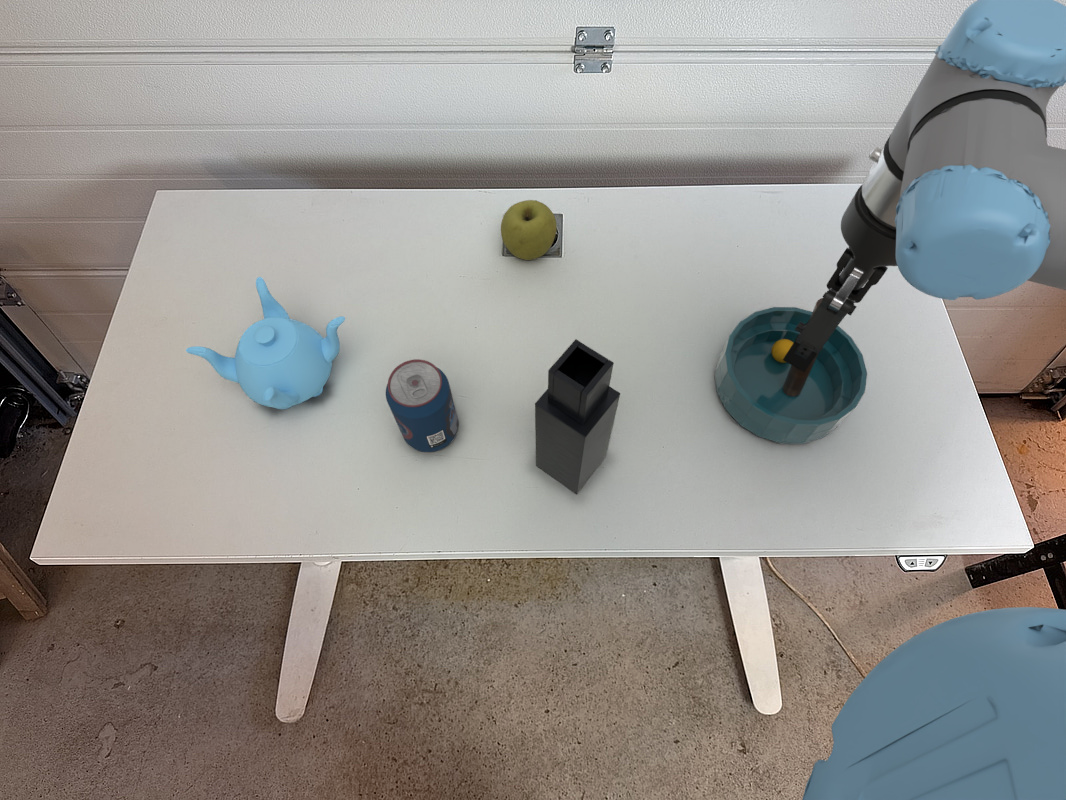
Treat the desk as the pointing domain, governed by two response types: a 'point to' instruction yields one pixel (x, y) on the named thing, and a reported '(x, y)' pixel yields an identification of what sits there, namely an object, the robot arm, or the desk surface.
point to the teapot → (278, 356)
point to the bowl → (758, 379)
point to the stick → (798, 373)
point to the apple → (528, 229)
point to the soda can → (422, 405)
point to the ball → (781, 349)
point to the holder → (575, 416)
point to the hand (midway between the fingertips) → (801, 353)
